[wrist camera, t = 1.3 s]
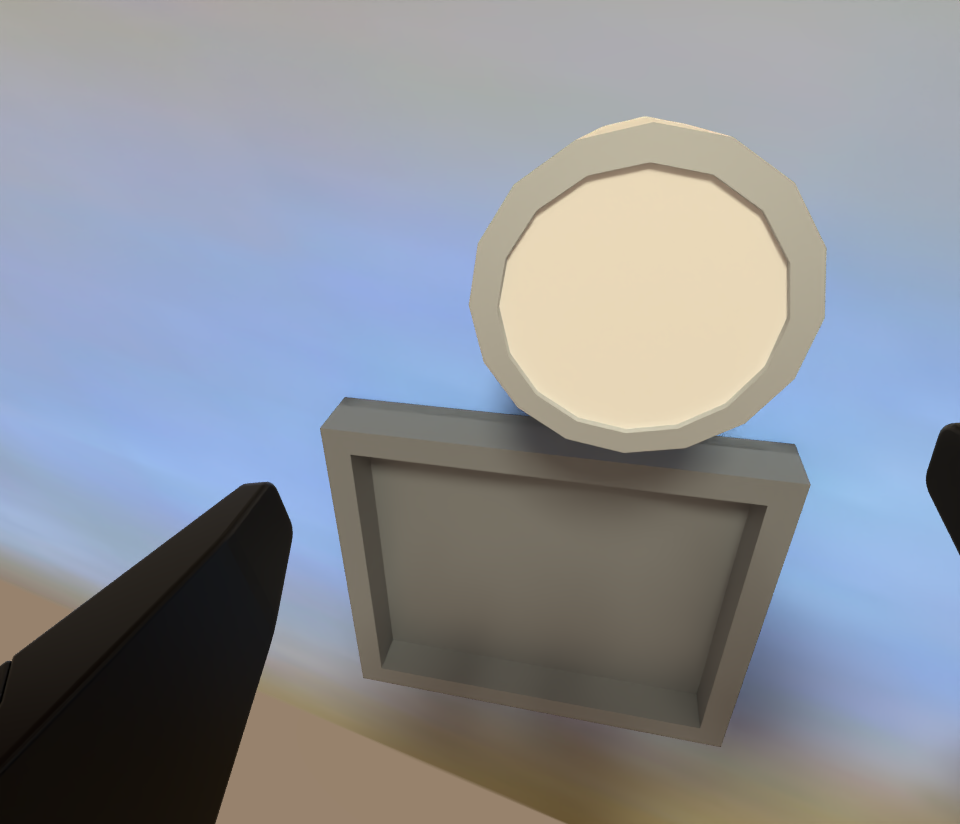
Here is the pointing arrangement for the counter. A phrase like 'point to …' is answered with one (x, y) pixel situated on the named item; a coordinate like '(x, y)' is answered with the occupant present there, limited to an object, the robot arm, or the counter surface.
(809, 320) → the cream cup
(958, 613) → the counter surface
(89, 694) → the robot arm
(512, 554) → the tray
